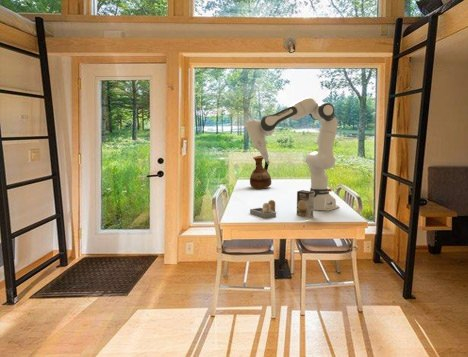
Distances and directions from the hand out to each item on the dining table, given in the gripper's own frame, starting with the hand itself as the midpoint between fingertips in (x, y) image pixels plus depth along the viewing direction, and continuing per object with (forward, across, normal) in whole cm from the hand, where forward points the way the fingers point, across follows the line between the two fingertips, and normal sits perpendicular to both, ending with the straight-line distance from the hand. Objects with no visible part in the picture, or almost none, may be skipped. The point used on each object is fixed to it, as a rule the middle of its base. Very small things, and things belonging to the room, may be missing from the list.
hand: (268, 162), depth 234 cm
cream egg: (+32, -4, +14) cm, 35 cm away
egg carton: (+30, -1, +16) cm, 35 cm away
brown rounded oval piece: (+30, +10, +11) cm, 34 cm away
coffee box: (+41, +3, -8) cm, 42 cm away
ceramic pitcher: (+1, +104, +17) cm, 105 cm away
